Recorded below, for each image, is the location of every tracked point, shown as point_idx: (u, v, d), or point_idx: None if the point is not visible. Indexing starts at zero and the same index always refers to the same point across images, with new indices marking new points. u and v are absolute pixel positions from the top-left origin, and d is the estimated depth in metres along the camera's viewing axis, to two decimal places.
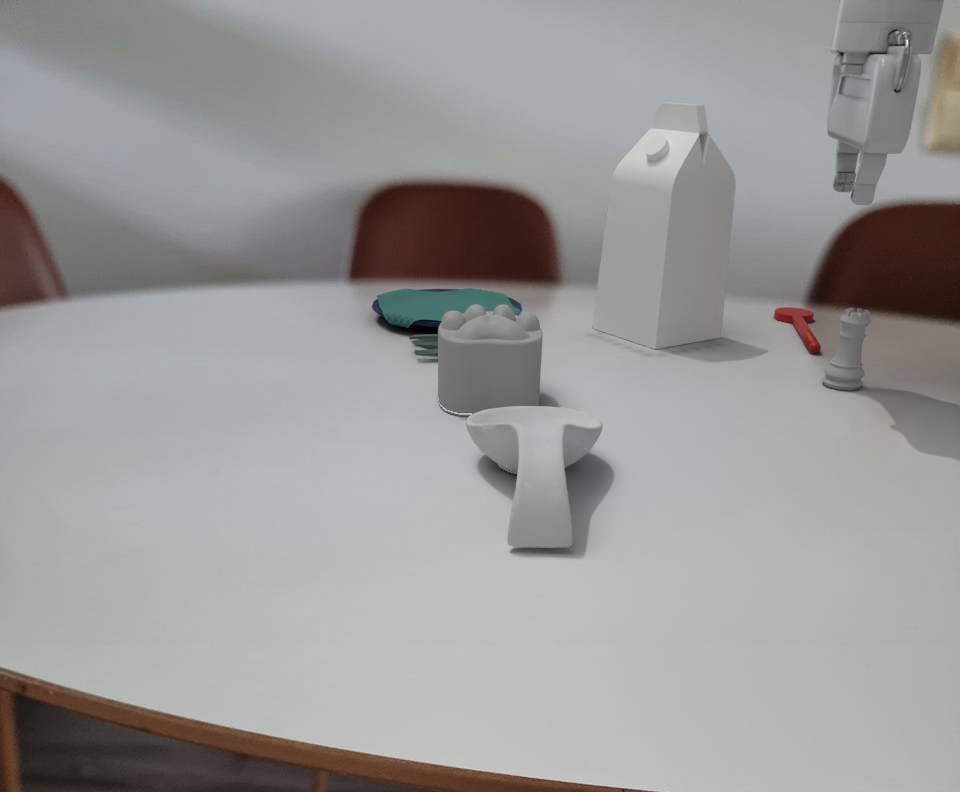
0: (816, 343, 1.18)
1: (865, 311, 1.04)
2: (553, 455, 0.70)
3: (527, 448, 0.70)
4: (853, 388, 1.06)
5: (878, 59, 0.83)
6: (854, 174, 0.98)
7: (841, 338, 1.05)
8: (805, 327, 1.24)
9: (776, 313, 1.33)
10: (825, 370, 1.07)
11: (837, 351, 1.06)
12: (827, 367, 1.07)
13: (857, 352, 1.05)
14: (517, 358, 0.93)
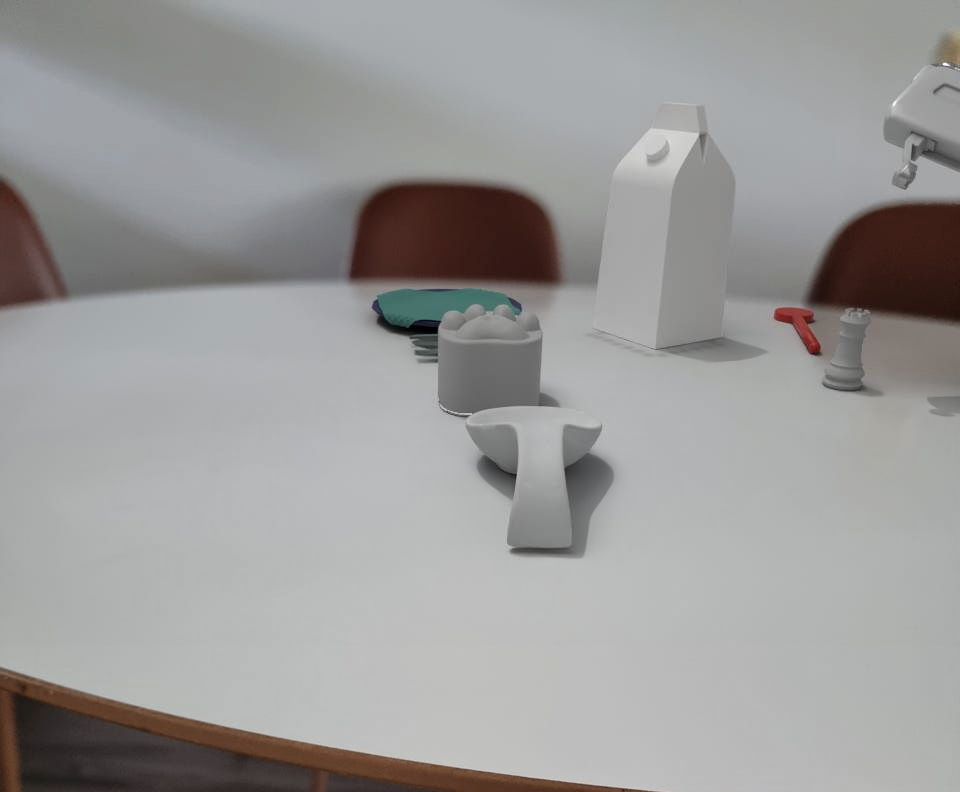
0: (816, 343, 1.18)
1: (865, 311, 1.04)
2: (553, 455, 0.70)
3: (526, 448, 0.70)
4: (853, 388, 1.06)
5: None
6: None
7: (841, 338, 1.05)
8: (805, 327, 1.24)
9: (776, 313, 1.33)
10: (825, 370, 1.07)
11: (837, 351, 1.06)
12: (827, 367, 1.07)
13: (857, 352, 1.05)
14: (517, 358, 0.93)
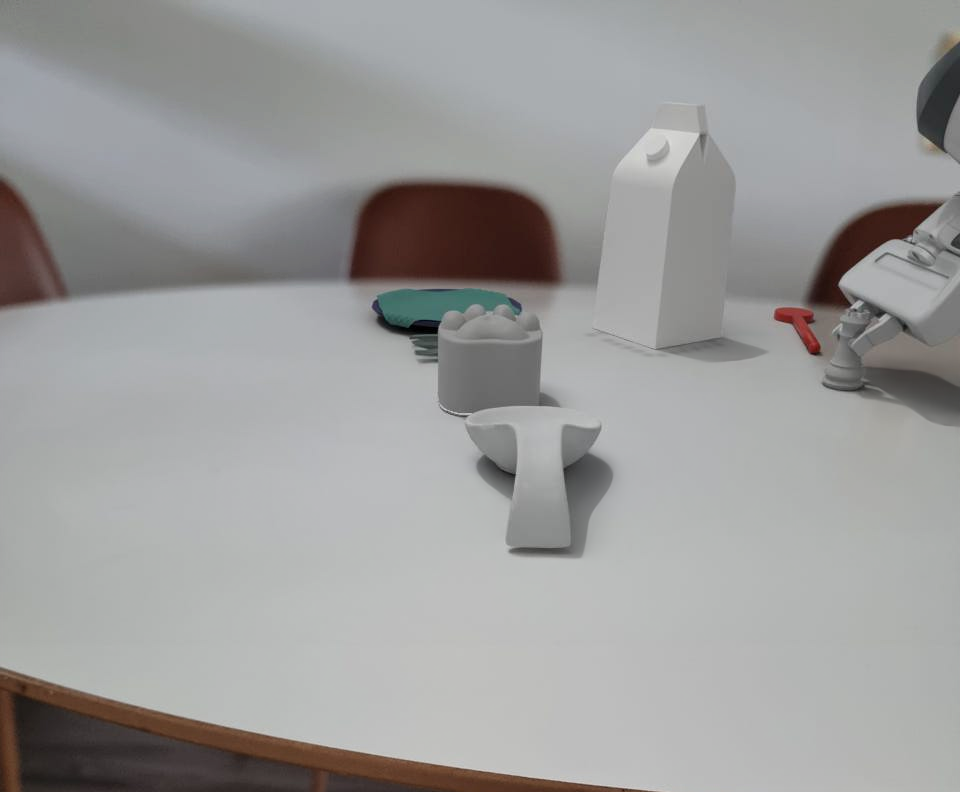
0: (816, 343, 1.18)
1: (865, 311, 1.04)
2: (552, 455, 0.70)
3: (525, 448, 0.70)
4: (853, 388, 1.06)
5: None
6: None
7: (841, 338, 1.05)
8: (805, 327, 1.24)
9: (776, 313, 1.33)
10: (825, 370, 1.07)
11: (837, 351, 1.06)
12: (827, 367, 1.07)
13: None
14: (517, 358, 0.93)
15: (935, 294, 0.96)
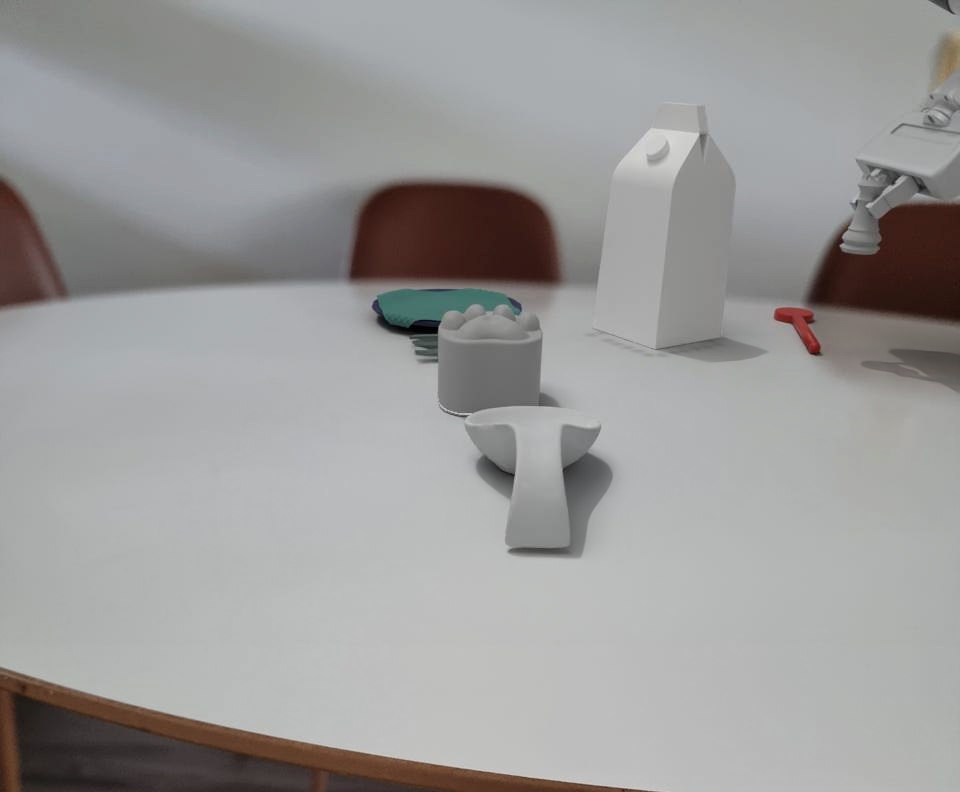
0: (816, 343, 1.18)
1: (882, 176, 1.08)
2: (551, 455, 0.70)
3: (524, 448, 0.70)
4: (870, 252, 1.11)
5: None
6: None
7: (859, 203, 1.10)
8: (805, 327, 1.24)
9: (776, 313, 1.33)
10: (843, 236, 1.12)
11: (855, 216, 1.10)
12: (845, 233, 1.11)
13: None
14: (517, 358, 0.93)
15: (950, 149, 1.00)
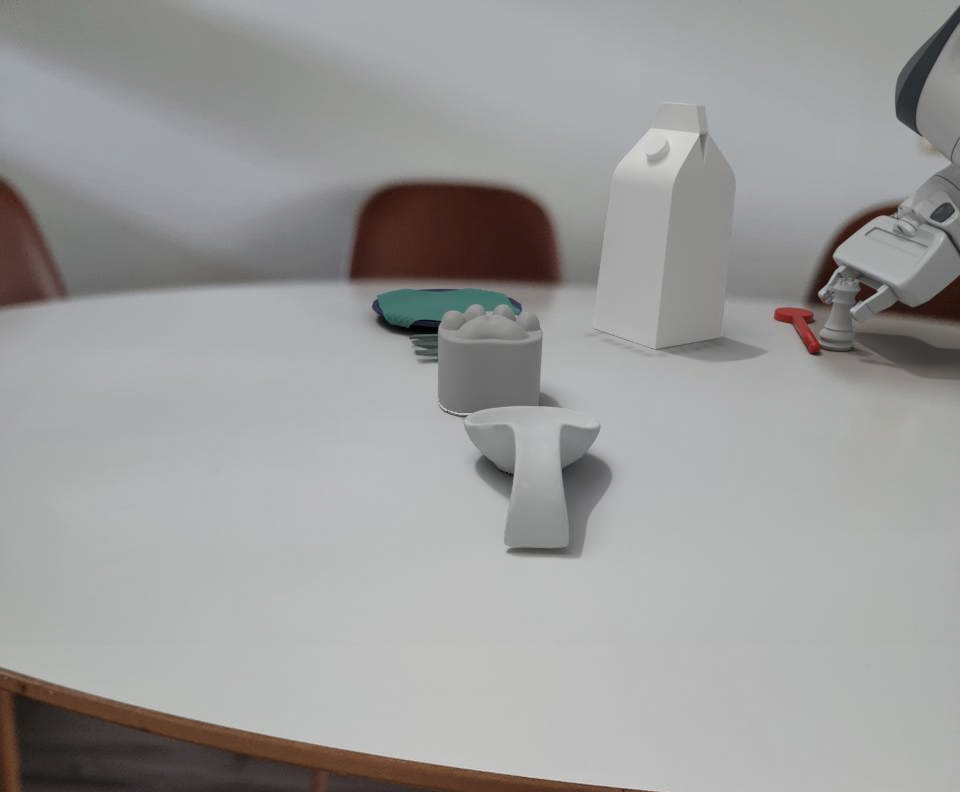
0: (816, 343, 1.18)
1: (855, 280, 1.18)
2: (550, 455, 0.70)
3: (523, 448, 0.70)
4: (845, 349, 1.20)
5: None
6: (860, 301, 1.15)
7: (834, 304, 1.19)
8: (805, 327, 1.24)
9: (776, 313, 1.33)
10: (820, 333, 1.21)
11: (830, 316, 1.20)
12: (822, 331, 1.21)
13: (848, 317, 1.19)
14: (517, 358, 0.93)
15: (916, 261, 1.10)
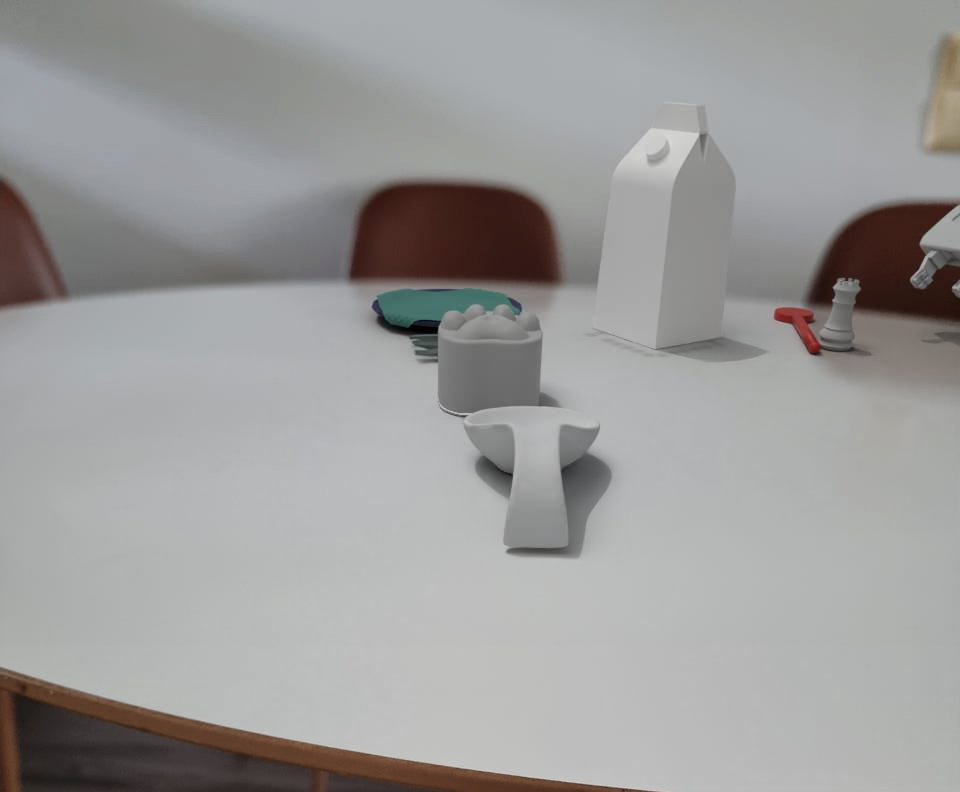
0: (816, 343, 1.18)
1: (855, 280, 1.18)
2: (550, 455, 0.70)
3: (523, 448, 0.70)
4: (845, 349, 1.20)
5: None
6: None
7: (834, 304, 1.19)
8: (805, 327, 1.24)
9: (776, 313, 1.33)
10: (820, 333, 1.21)
11: (830, 316, 1.20)
12: (822, 331, 1.21)
13: (848, 317, 1.19)
14: (517, 358, 0.93)
15: None
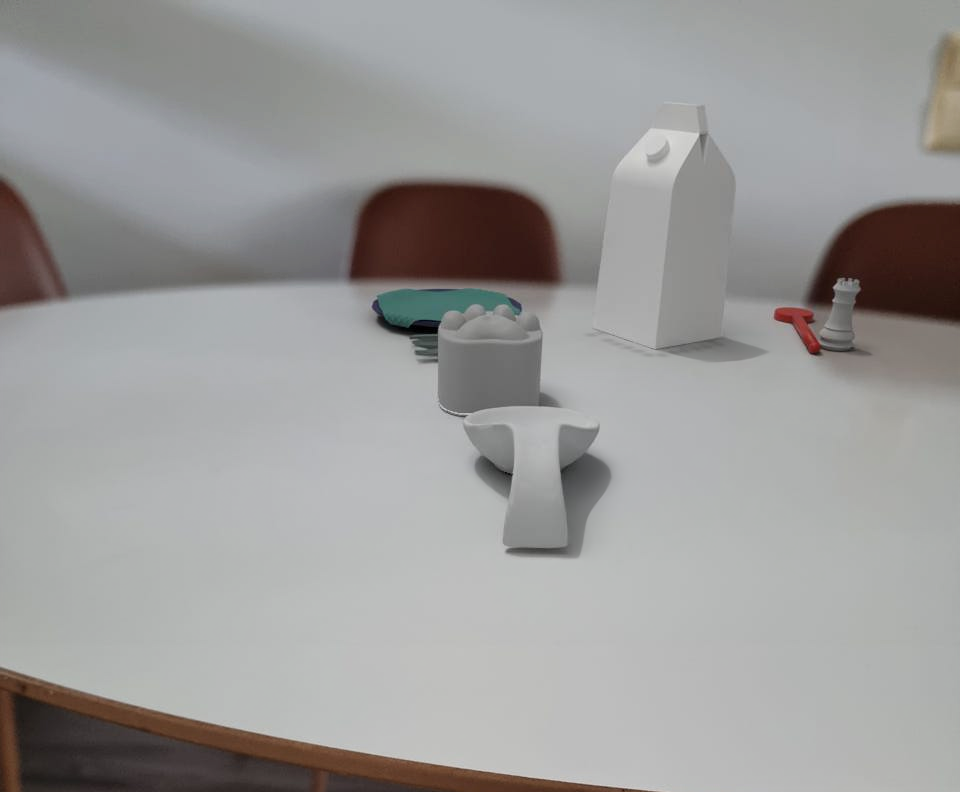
0: (816, 343, 1.18)
1: (855, 280, 1.18)
2: (549, 455, 0.70)
3: (522, 448, 0.70)
4: (845, 349, 1.20)
5: None
6: None
7: (834, 304, 1.19)
8: (805, 327, 1.24)
9: (776, 313, 1.33)
10: (820, 333, 1.21)
11: (830, 316, 1.20)
12: (822, 331, 1.21)
13: (848, 317, 1.19)
14: (517, 358, 0.93)
15: None
